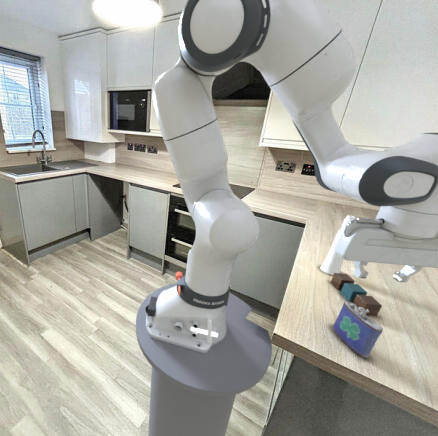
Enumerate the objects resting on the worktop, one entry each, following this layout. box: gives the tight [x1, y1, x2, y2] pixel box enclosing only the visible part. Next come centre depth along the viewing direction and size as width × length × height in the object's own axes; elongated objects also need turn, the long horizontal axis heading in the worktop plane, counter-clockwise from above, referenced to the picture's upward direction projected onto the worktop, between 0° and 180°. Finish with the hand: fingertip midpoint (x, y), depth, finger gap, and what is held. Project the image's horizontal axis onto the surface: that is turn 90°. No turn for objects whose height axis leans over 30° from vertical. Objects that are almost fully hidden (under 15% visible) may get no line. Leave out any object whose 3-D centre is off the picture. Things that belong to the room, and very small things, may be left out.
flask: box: [331, 301, 384, 359], centre depth 57 cm, size 9×3×11 cm, turn 4°
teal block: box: [340, 283, 368, 303], centre depth 73 cm, size 4×4×4 cm
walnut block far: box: [330, 272, 356, 291], centre depth 78 cm, size 4×4×4 cm
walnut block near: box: [352, 294, 383, 317], centre depth 68 cm, size 4×4×4 cm
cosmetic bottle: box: [320, 215, 356, 276], centre depth 83 cm, size 6×6×22 cm
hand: (378, 278), depth 52 cm, fingers open, 7 cm apart
